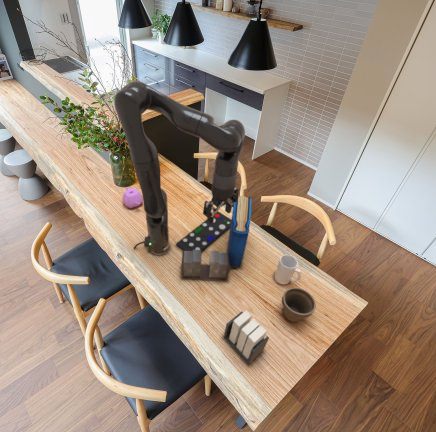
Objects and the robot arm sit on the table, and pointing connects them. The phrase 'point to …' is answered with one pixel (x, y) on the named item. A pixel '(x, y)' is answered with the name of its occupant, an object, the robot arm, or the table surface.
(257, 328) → the dark book holder
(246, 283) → the table surface
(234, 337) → the white book
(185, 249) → the remote control
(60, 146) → the table surface
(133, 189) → the teapot
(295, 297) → the flower pot
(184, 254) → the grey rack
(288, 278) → the mug
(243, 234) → the book
